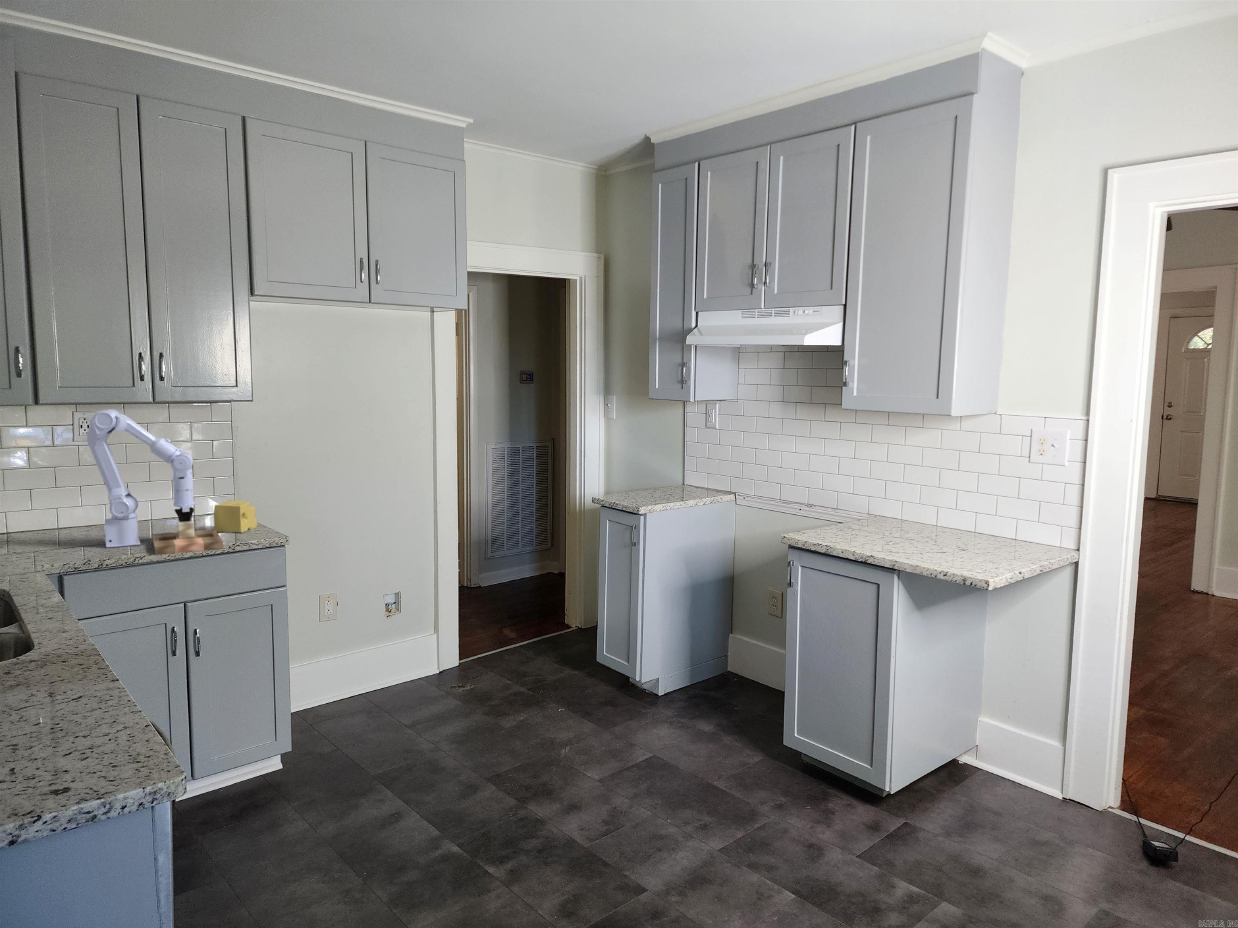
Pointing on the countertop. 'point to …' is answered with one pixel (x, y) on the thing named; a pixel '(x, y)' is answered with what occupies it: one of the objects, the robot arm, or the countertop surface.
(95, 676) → the countertop surface
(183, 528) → the block
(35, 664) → the countertop surface
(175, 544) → the trap deck
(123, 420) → the robot arm
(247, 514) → the cheese
